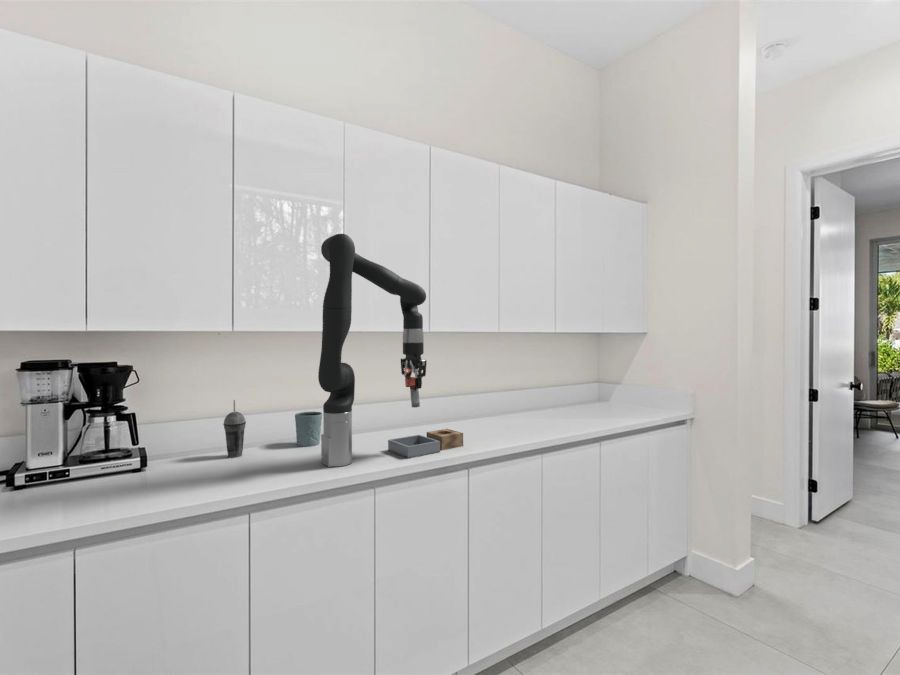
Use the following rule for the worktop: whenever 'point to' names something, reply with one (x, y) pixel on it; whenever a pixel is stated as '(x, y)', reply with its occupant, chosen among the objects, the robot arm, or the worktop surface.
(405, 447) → the tray
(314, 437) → the teal tapered cylinder
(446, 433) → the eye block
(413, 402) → the pin
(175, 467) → the worktop surface
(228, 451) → the beverage cup
